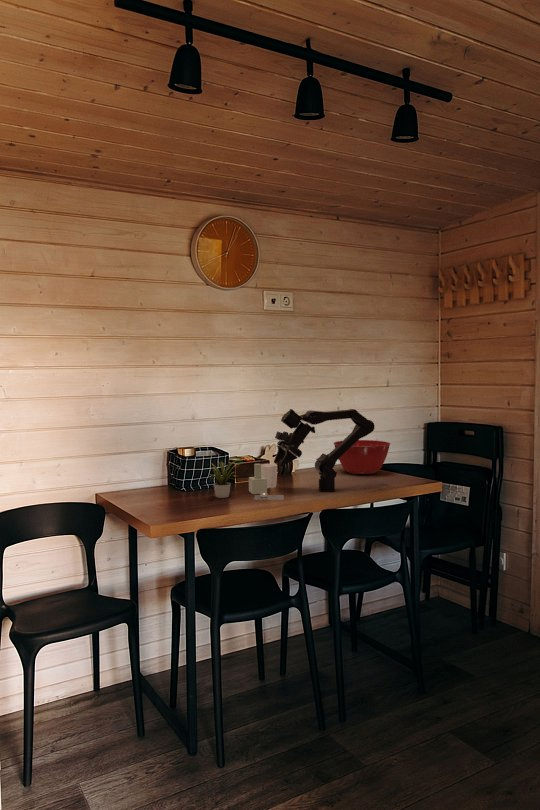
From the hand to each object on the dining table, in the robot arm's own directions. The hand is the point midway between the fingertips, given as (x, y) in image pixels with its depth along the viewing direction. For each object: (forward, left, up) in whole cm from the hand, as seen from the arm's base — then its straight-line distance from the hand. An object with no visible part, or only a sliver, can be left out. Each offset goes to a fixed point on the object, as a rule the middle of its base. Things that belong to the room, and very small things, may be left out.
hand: (277, 464), depth 272 cm
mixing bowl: (-42, -51, -13) cm, 67 cm away
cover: (+8, +2, -12) cm, 15 cm away
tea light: (+5, +13, -11) cm, 19 cm away
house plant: (+21, +10, -13) cm, 27 cm away
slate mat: (+3, +13, -12) cm, 18 cm away
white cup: (+4, -14, -13) cm, 19 cm away
